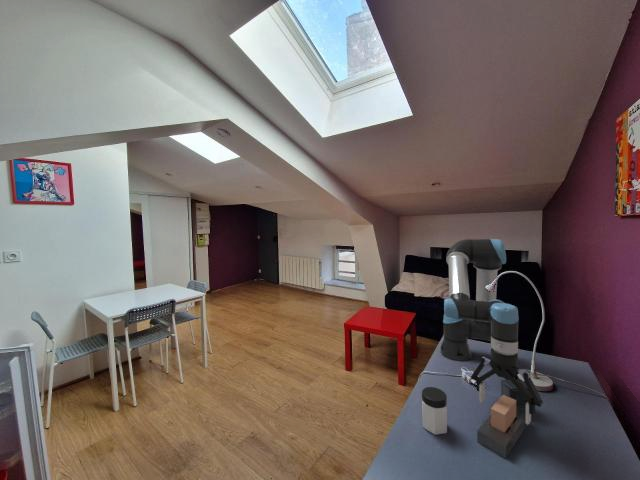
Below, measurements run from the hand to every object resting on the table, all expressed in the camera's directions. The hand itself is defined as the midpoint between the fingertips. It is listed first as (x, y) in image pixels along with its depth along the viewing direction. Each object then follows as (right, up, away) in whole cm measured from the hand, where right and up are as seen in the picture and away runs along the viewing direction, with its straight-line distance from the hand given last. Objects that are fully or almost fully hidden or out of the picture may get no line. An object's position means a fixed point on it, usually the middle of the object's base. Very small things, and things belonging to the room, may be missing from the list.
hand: (503, 410), depth 91 cm
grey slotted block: (0, -8, +1) cm, 8 cm away
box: (+12, -7, +11) cm, 18 cm away
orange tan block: (0, -8, +1) cm, 8 cm away
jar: (-22, -9, +5) cm, 24 cm away
